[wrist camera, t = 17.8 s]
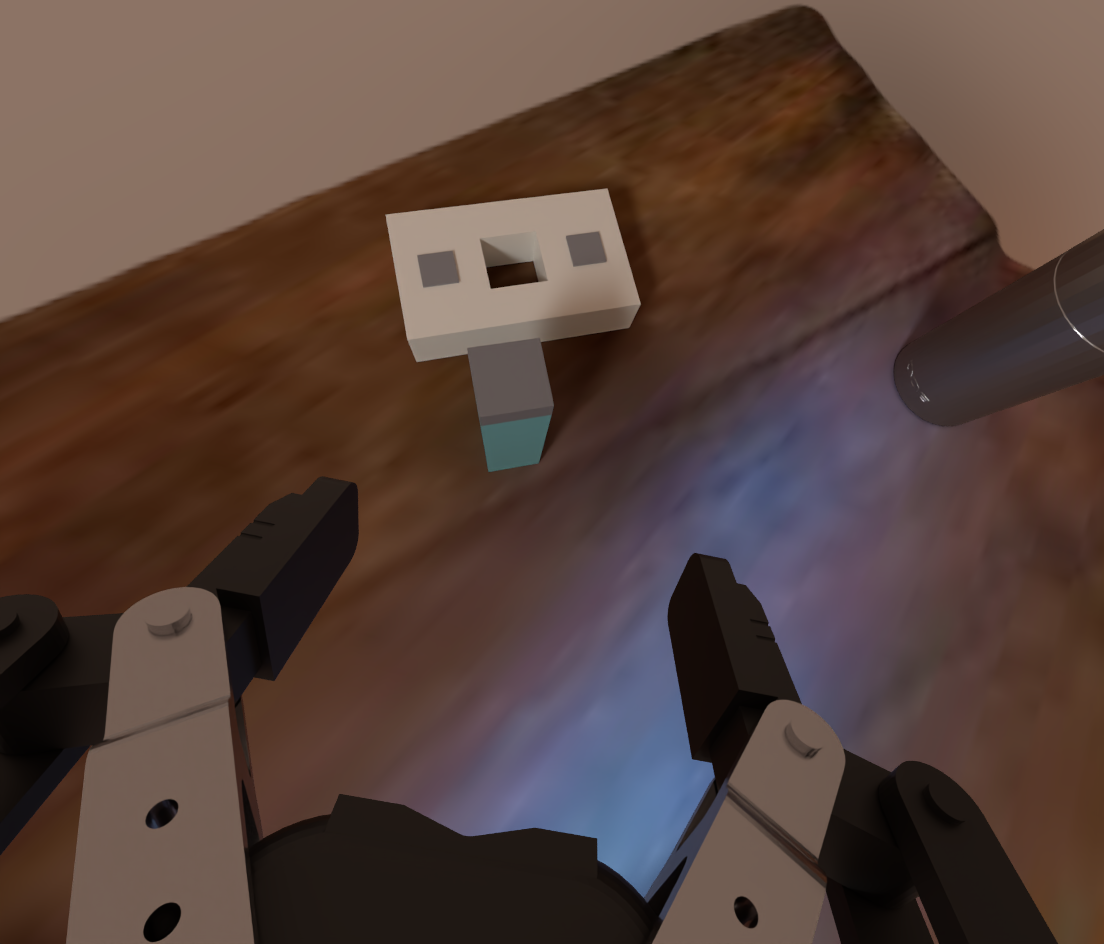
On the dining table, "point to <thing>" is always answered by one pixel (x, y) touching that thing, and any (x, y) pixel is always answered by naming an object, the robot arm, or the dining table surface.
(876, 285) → the dining table surface
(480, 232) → the block
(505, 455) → the plug
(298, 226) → the dining table surface
